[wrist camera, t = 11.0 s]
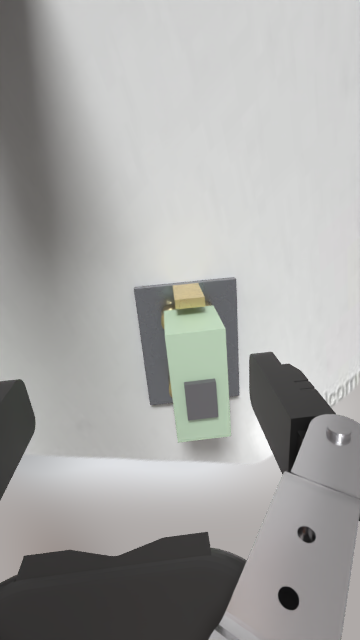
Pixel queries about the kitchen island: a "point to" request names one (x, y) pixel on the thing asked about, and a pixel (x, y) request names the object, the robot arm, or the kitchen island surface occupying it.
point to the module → (198, 372)
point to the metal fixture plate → (180, 297)
